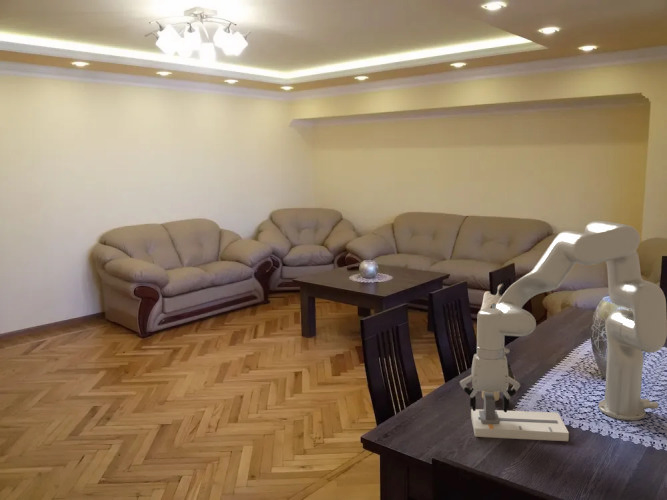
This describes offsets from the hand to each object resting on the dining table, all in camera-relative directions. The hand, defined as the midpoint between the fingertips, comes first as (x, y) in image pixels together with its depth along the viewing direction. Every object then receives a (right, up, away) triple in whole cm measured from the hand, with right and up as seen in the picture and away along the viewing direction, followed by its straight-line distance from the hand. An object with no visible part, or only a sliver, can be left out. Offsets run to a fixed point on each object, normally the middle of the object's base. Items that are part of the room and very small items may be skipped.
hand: (489, 409), depth 157 cm
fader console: (+8, -5, 0) cm, 10 cm away
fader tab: (0, -3, 0) cm, 3 cm away
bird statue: (+12, 0, +31) cm, 33 cm away
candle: (+6, -2, +20) cm, 21 cm away
